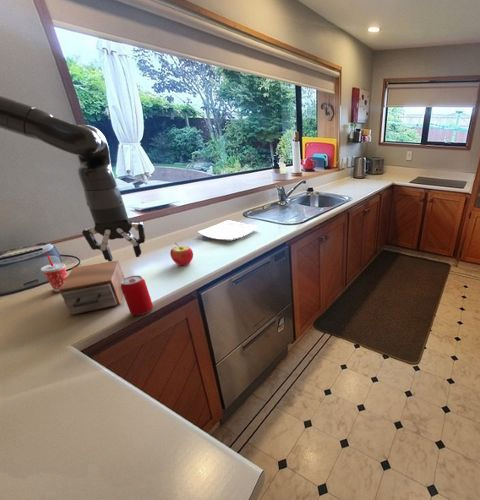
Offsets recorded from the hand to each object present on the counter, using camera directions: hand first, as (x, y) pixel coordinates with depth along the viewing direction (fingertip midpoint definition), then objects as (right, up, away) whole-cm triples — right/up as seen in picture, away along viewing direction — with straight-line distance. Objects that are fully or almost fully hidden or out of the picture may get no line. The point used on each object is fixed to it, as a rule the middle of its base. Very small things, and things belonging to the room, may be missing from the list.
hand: (124, 258), depth 84 cm
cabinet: (-20, -14, +14) cm, 28 cm away
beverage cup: (-37, -12, +18) cm, 43 cm away
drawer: (-17, -15, +11) cm, 25 cm away
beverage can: (-1, -18, +8) cm, 20 cm away
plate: (+1, +12, +72) cm, 73 cm away
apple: (-5, -4, +39) cm, 39 cm away
